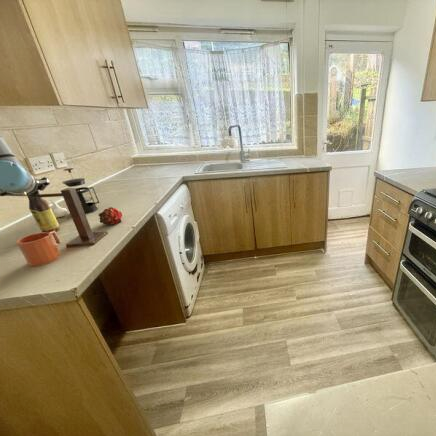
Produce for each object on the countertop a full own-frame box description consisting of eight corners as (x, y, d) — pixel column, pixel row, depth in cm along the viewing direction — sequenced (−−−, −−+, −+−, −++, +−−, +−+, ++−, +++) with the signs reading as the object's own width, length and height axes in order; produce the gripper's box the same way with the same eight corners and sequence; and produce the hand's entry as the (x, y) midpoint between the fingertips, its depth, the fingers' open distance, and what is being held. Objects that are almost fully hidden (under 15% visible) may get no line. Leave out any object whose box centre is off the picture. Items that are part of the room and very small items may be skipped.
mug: (48, 265, 84) (36, 242, 80) (22, 267, 83) (9, 244, 79) (73, 247, 95) (64, 226, 92) (50, 248, 94) (40, 227, 91)
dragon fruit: (109, 232, 110) (117, 225, 121) (123, 219, 111) (129, 213, 121) (90, 220, 106) (100, 214, 117) (105, 206, 107) (113, 201, 118)
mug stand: (41, 249, 94) (13, 195, 85) (60, 237, 103) (37, 187, 94) (94, 245, 96) (72, 192, 87) (108, 234, 105) (90, 184, 96)
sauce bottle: (41, 231, 109) (19, 189, 101) (60, 226, 113) (39, 185, 105) (43, 235, 105) (19, 192, 97) (61, 230, 109) (40, 188, 101)
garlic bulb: (68, 216, 125) (61, 201, 121) (52, 219, 122) (44, 204, 118) (69, 212, 129) (63, 198, 126) (54, 215, 126) (47, 201, 123)
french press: (75, 216, 124) (55, 172, 115) (73, 212, 130) (53, 169, 121) (102, 209, 132) (85, 167, 122) (99, 205, 138) (83, 165, 128)
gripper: (-3, 201, 73) (17, 207, 92) (51, 187, 80) (59, 195, 99) (-18, 177, 71) (5, 188, 90) (38, 165, 79) (49, 178, 97)
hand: (34, 192), depth 94 cm, fingers closed
